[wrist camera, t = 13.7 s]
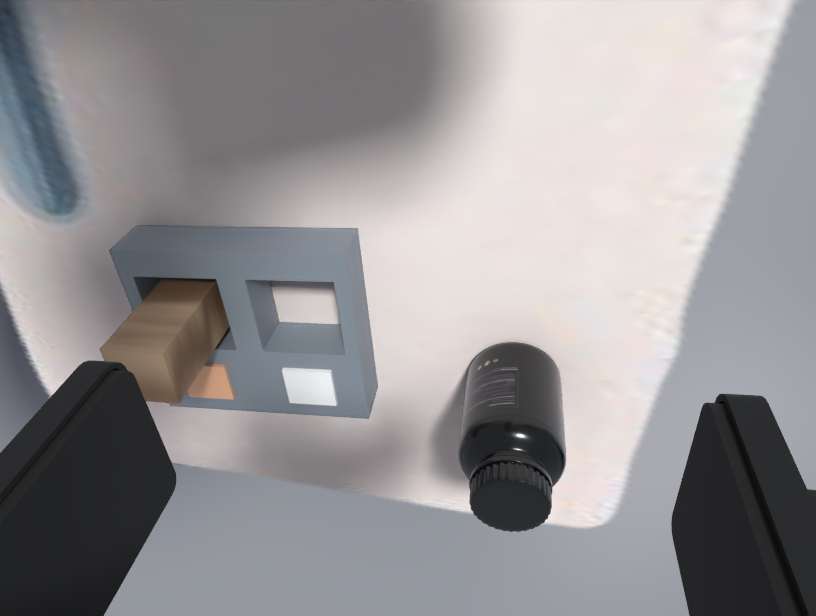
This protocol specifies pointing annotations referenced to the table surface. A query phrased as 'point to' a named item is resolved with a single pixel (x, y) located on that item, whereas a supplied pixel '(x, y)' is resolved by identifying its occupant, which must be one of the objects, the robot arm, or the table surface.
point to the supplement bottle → (512, 435)
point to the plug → (170, 337)
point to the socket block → (266, 315)
